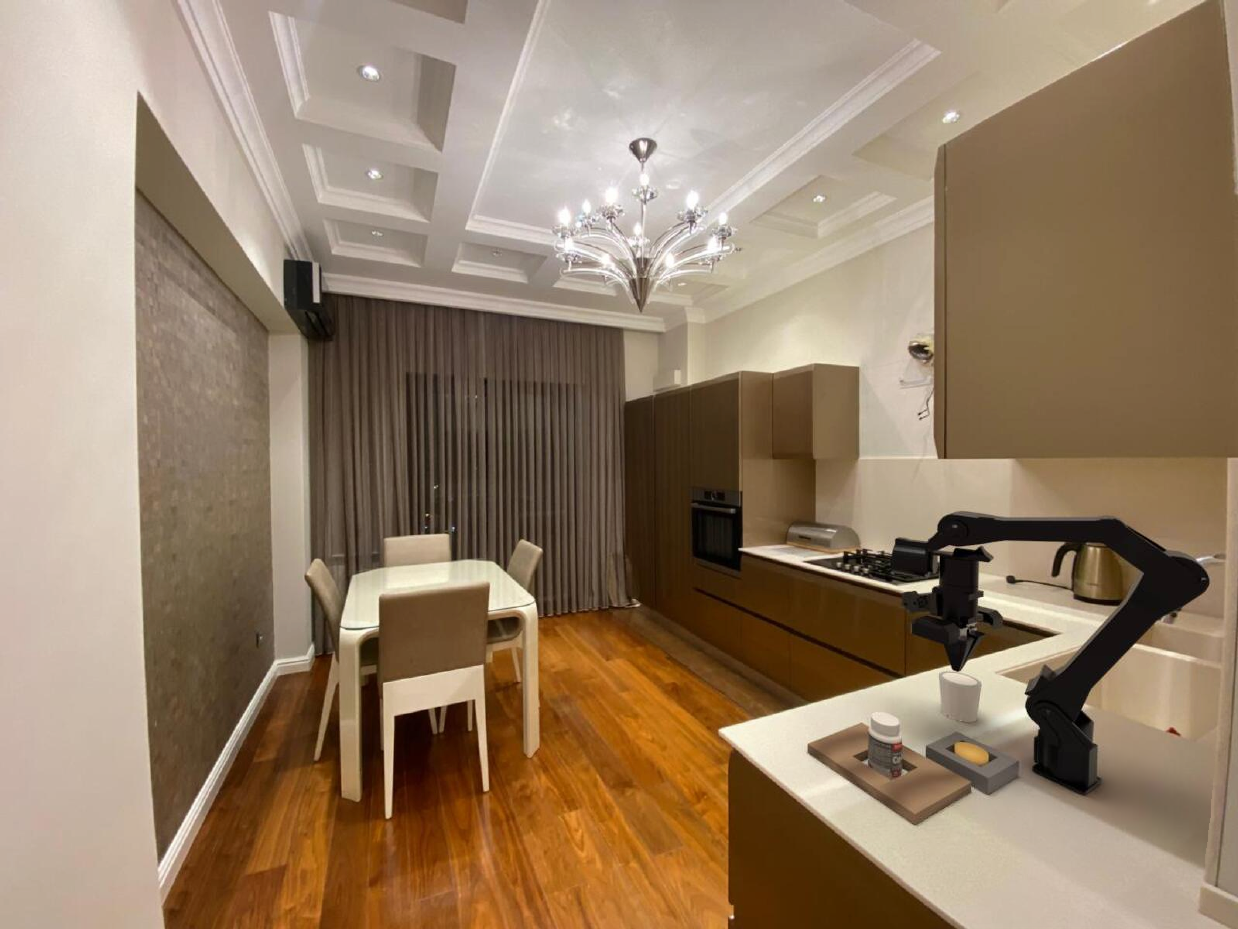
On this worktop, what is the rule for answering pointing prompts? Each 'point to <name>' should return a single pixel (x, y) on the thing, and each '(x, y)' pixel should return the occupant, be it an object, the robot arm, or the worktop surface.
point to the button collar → (981, 778)
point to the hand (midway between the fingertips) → (956, 670)
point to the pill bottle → (885, 745)
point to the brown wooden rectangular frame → (905, 795)
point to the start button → (972, 753)
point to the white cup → (959, 695)
